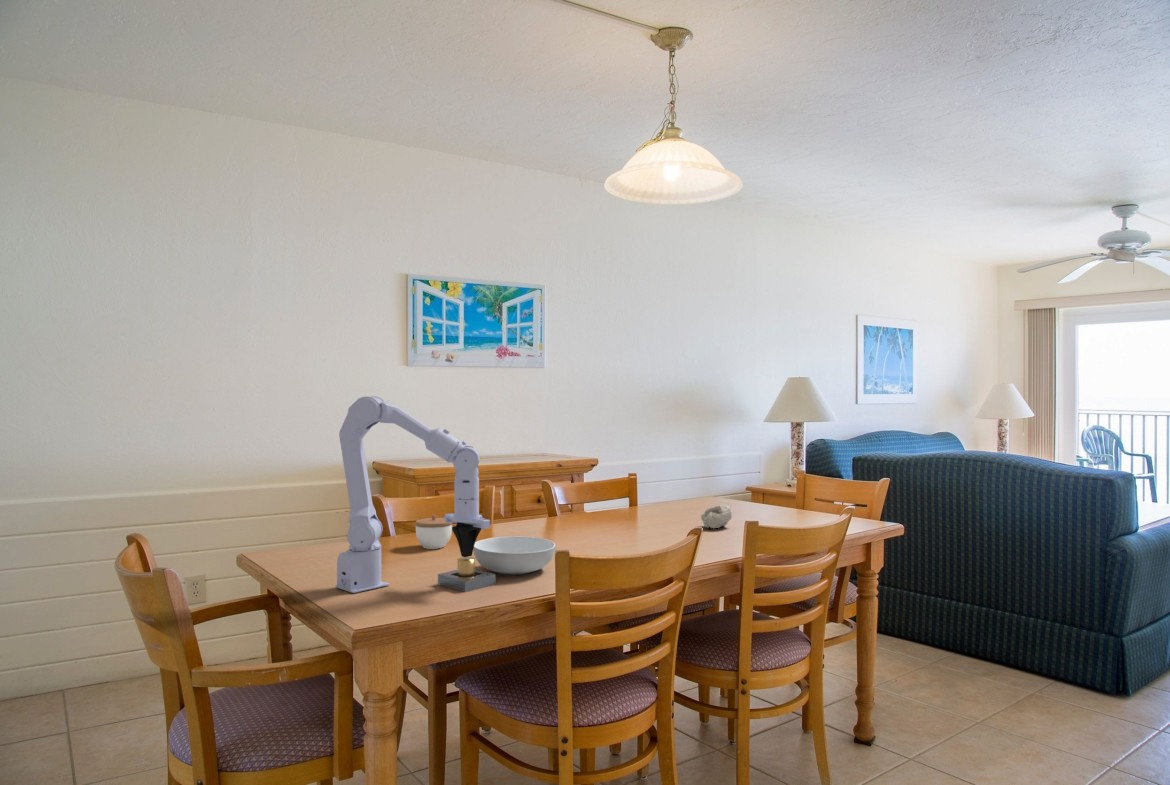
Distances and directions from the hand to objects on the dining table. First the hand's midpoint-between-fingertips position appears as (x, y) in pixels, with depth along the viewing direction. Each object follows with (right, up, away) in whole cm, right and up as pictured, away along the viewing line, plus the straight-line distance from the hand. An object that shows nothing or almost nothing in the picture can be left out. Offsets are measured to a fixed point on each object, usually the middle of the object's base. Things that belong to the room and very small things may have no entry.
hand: (466, 556), depth 176 cm
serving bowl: (+10, -7, +14) cm, 18 cm away
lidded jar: (-16, -7, +43) cm, 47 cm away
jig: (0, -7, 0) cm, 7 cm away
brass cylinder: (0, -7, 0) cm, 7 cm away
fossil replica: (+72, -7, +75) cm, 104 cm away
